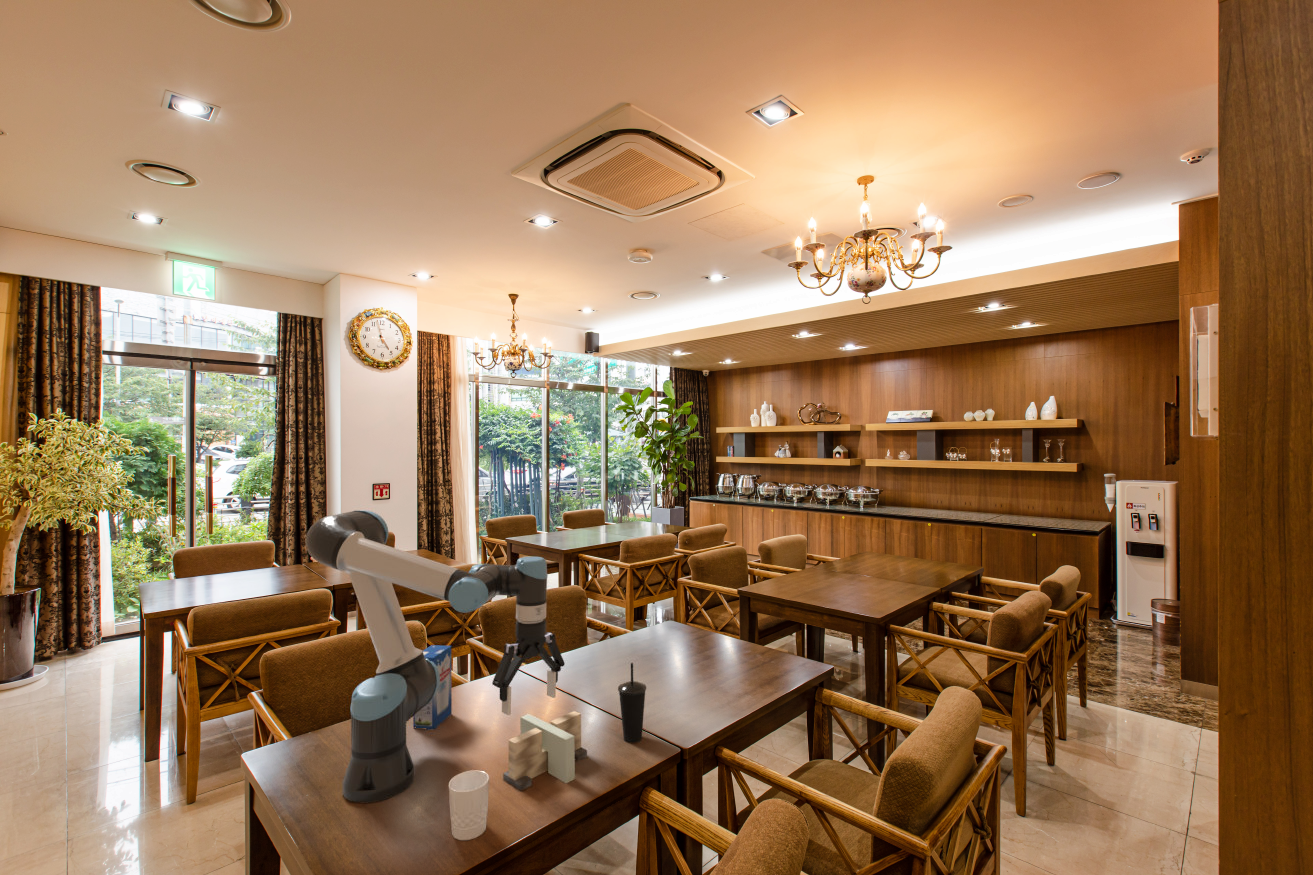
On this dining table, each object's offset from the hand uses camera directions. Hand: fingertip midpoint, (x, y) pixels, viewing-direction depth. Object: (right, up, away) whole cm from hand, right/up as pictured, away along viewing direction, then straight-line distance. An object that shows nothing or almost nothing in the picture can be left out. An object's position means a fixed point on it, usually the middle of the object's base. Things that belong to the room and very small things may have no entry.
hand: (529, 704), depth 147 cm
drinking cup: (+26, -14, +10) cm, 31 cm away
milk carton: (-32, -15, +21) cm, 41 cm away
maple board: (+5, -13, -4) cm, 15 cm away
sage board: (+5, -13, -4) cm, 15 cm away
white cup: (-6, -13, -28) cm, 31 cm away
